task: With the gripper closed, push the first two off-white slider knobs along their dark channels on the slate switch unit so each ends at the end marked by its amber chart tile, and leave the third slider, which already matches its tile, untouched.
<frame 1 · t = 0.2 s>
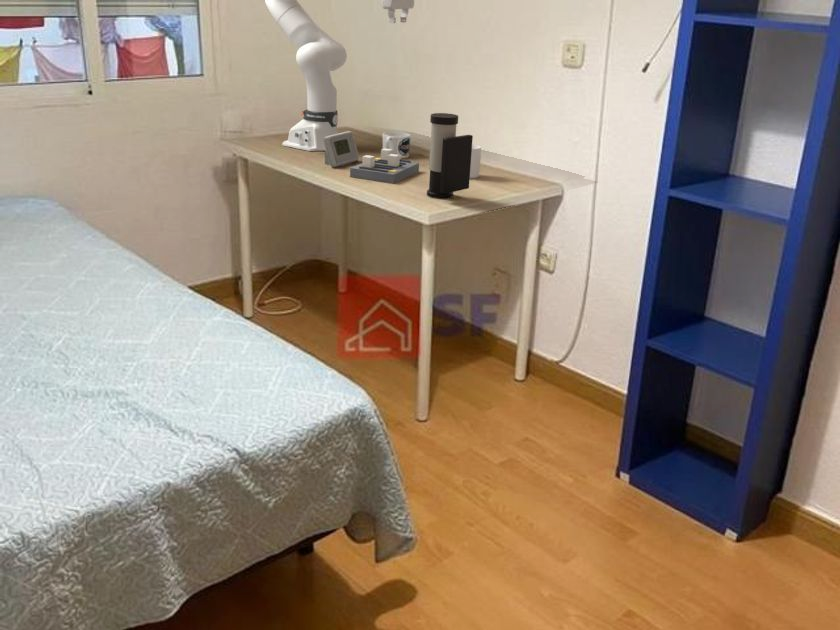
hand: (397, 22, 286), 48 cm above the table, fingers open, 8 cm apart
slider 1: (368, 161, 272), point 5 cm above the table, slide at -3.0 cm
mug: (462, 175, 283), on the table
switch unit: (385, 174, 279), on the table
mug 2: (394, 156, 307), on the table
digital clock: (341, 164, 291), on the table
slider 3: (386, 154, 284), point 5 cm above the table, slide at -3.0 cm
slider 2: (393, 160, 276), point 5 cm above the table, slide at 3.0 cm
light fixture: (442, 196, 255), on the table
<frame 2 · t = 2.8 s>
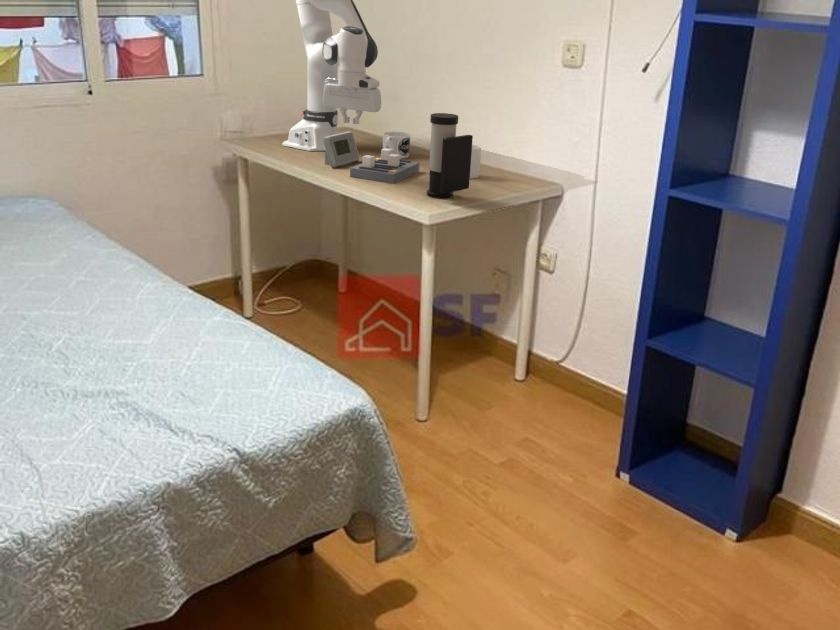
hand: (351, 123, 270), 17 cm above the table, fingers closed
nothing on the table moved.
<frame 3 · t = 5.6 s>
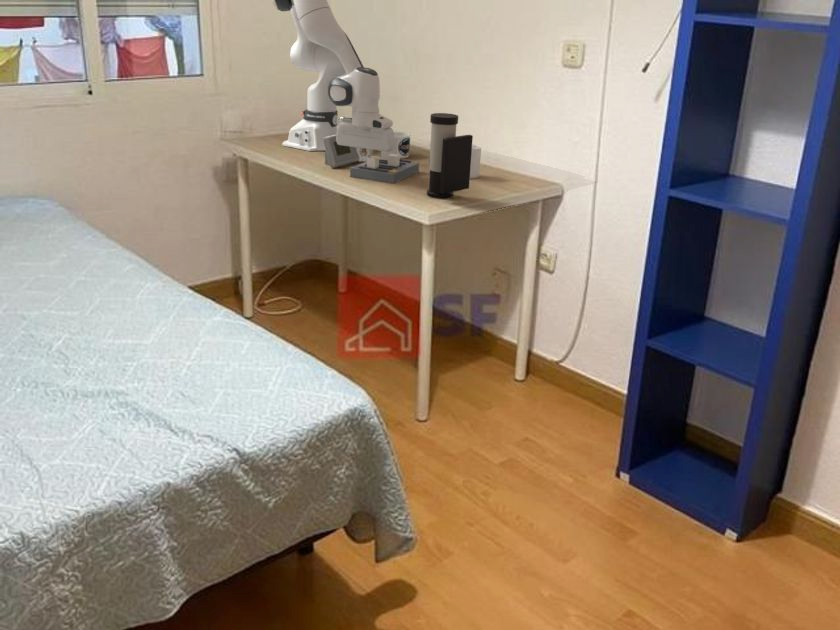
hand: (364, 161, 272), 5 cm above the table, fingers closed
slider 1: (373, 162, 271), point 5 cm above the table, slide at -1.3 cm, touching gripper
everything else where it was.
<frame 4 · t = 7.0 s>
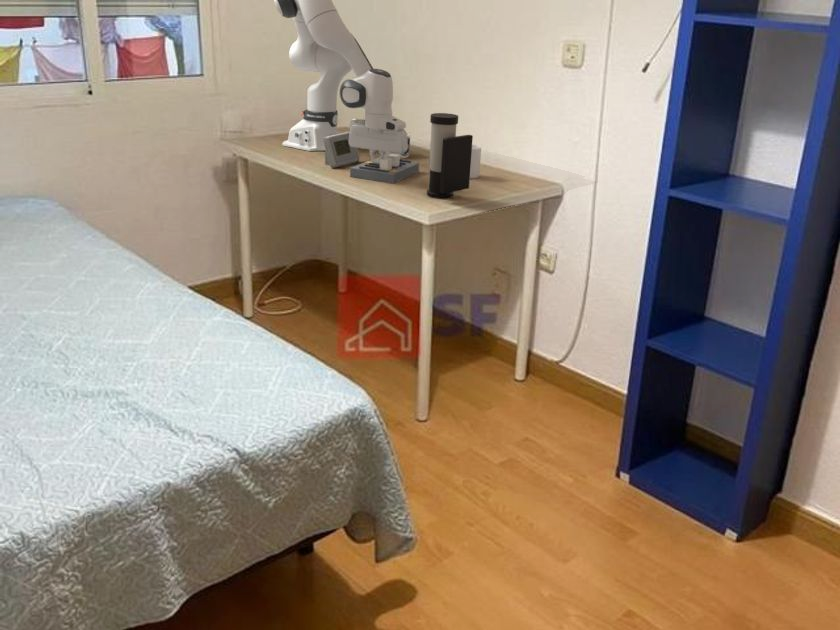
hand: (377, 163, 271), 5 cm above the table, fingers closed
slider 1: (385, 164, 270), point 5 cm above the table, slide at 3.4 cm, touching gripper
everything else where it was.
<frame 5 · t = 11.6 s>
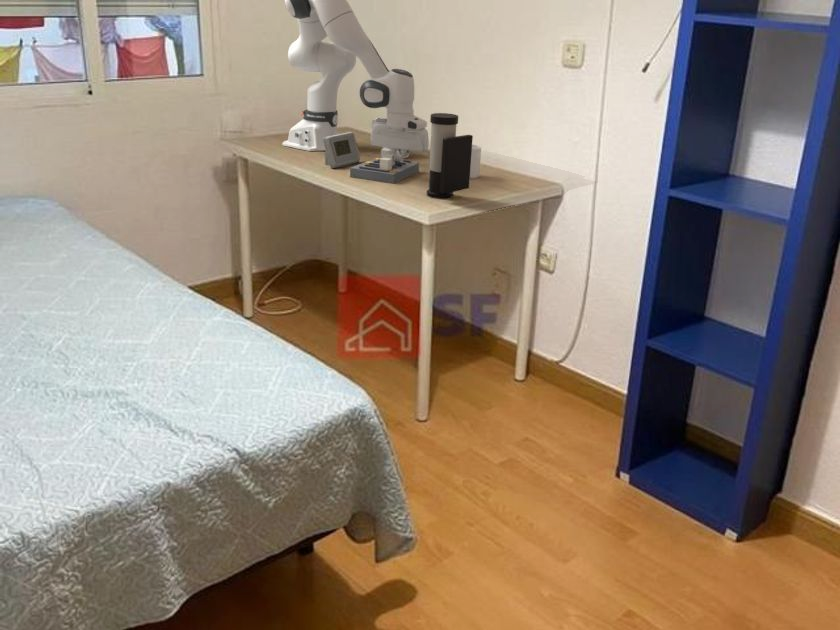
hand: (398, 161, 276), 5 cm above the table, fingers closed
slider 1: (385, 164, 270), point 5 cm above the table, slide at 3.4 cm
slider 2: (389, 159, 276), point 5 cm above the table, slide at 1.4 cm, touching gripper
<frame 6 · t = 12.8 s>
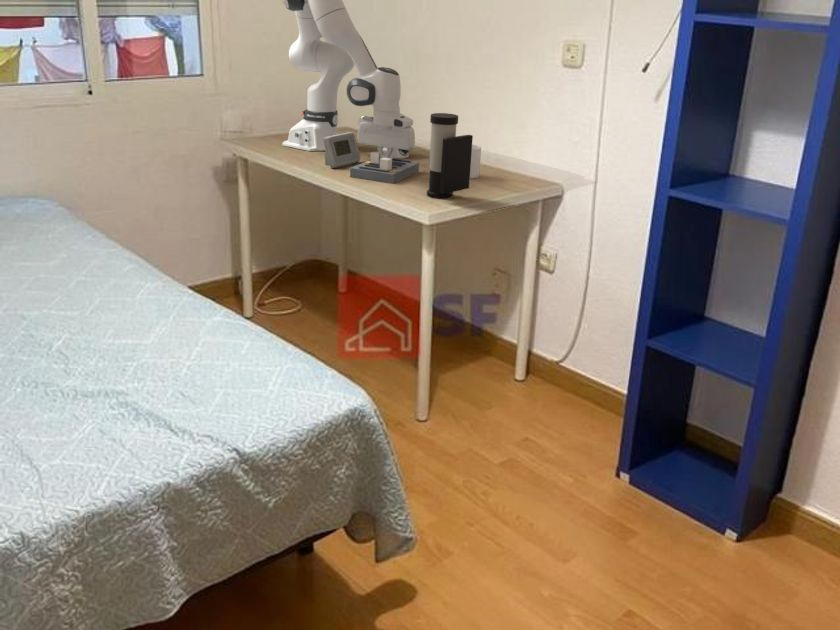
hand: (385, 159, 277), 5 cm above the table, fingers closed
slider 2: (376, 157, 278), point 5 cm above the table, slide at -3.4 cm, touching gripper
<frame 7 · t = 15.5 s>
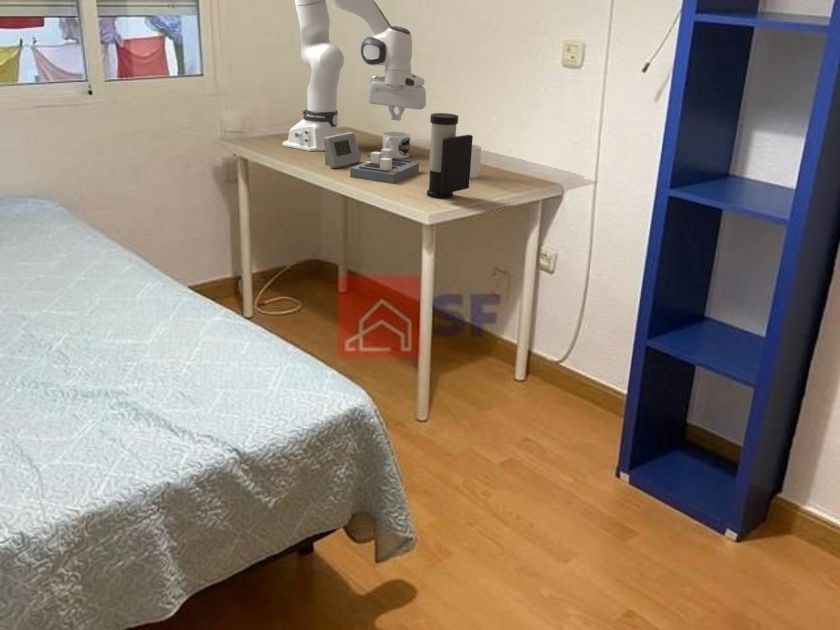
hand: (396, 120, 278), 17 cm above the table, fingers closed
slider 2: (376, 157, 278), point 5 cm above the table, slide at -3.4 cm
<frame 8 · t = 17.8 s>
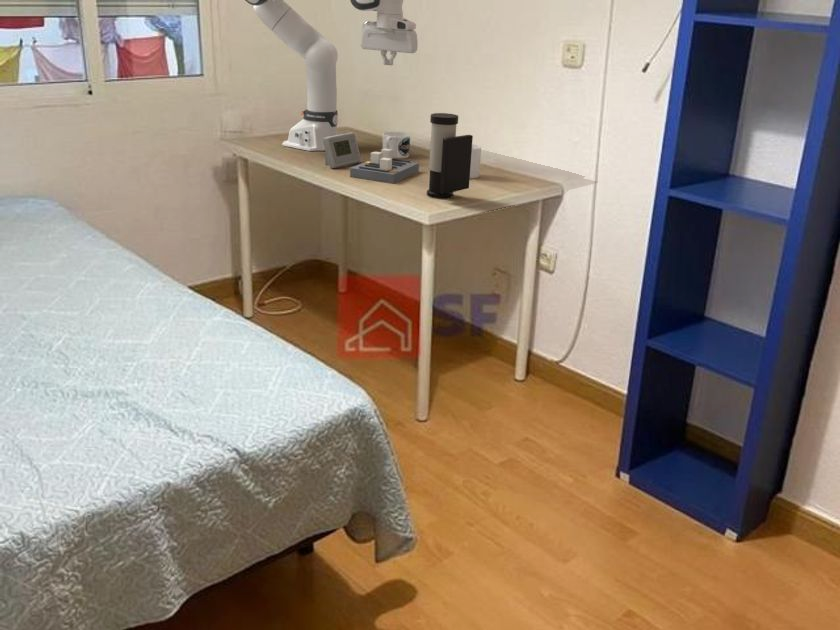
hand: (388, 64, 282), 34 cm above the table, fingers closed
at the end: slider 1 slide at 3.4 cm; slider 2 slide at -3.4 cm; slider 3 slide at -3.0 cm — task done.
